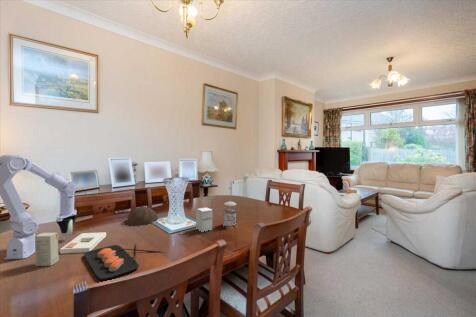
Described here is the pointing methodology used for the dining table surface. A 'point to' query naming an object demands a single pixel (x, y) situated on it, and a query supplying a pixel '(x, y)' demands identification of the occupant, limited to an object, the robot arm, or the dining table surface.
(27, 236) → the robot arm
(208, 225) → the supplement box
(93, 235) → the hole board
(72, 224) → the peg
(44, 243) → the skincare box
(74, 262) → the dining table surface
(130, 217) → the decorative dome
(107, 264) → the sushi plate
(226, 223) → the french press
